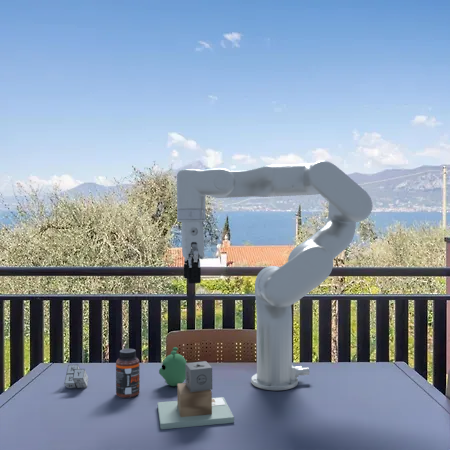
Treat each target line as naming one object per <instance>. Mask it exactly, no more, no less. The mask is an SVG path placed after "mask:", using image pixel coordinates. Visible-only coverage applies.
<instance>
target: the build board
mask: <svg viewBox="0 0 450 450" xmlns="http://www.w3.org/2000/svg"><path fill="white" fill-rule="evenodd" d="M157 411H158V421H159V426H160V427H159V428H160V430H168V429H170V430H171V429H180V428H190V427H199V426H200V427H201V426H203V427H204V426H210V425H223V424H231V423H233V424H234V423H235V416H234V414H233V412H232V410H231V408H230V406H229V405H228V403H227V400H226V399H225V397H224V396H217V397H212V414H210V415H199V416H188V417H180V413H179V409H178V402H177V400H173V401H172V400H171V401H169V400H168V401H161V402H160V401H157Z"/></svg>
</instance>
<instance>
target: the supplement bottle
mask: <svg viewBox="0 0 450 450" xmlns="http://www.w3.org/2000/svg"><path fill="white" fill-rule="evenodd" d="M140 378H141V377H140V359H139V358H138V357H137V354H136V349H134V348H123V349H120V350H119V357H118V358H117V360H116V362H115V395H116V396H117V397H119V398H124V399H130V398H134V397H136V395H137V396H138V395H139V394H140V388H141V387H140V381H141V380H140Z"/></svg>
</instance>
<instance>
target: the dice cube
mask: <svg viewBox="0 0 450 450" xmlns="http://www.w3.org/2000/svg"><path fill="white" fill-rule="evenodd" d="M185 373H186V379H185V383H186V386H187V387H188V389H189V390H190V392H197V391H205V390H211V391H212V390H213V367H212V366H211V365H210V364H209V363H208V362H207V361H206V360H203V361H196V362H187V363H185Z"/></svg>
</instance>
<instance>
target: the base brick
mask: <svg viewBox="0 0 450 450" xmlns="http://www.w3.org/2000/svg"><path fill="white" fill-rule="evenodd" d="M176 387H177V390H176V391H177V393H176V394H177V400H176V401H177V402H178V409H179V413H180V417H188V416H199V415H210V414H212V398H213V396H212V394H213V393H212V390H205V391H197V392H190V390H189V389H188V387H187V386H186V382H183V383H179V384H177V386H176Z"/></svg>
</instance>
